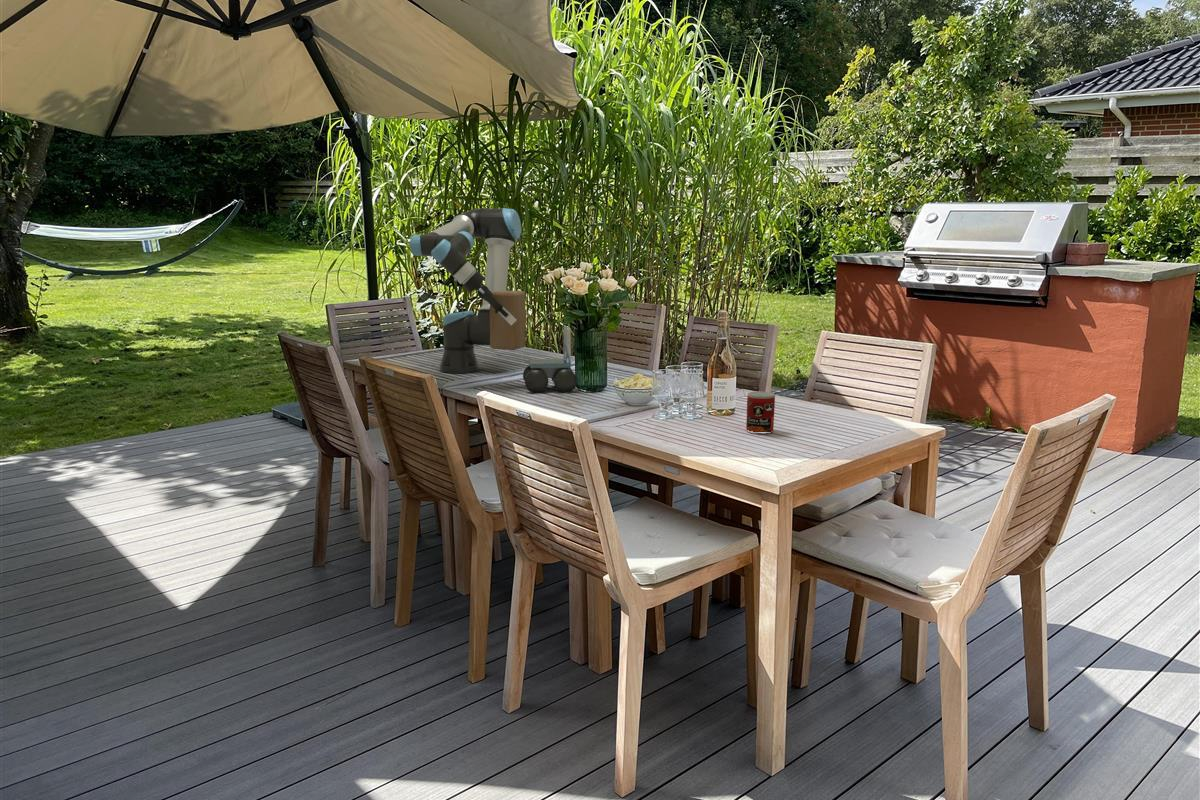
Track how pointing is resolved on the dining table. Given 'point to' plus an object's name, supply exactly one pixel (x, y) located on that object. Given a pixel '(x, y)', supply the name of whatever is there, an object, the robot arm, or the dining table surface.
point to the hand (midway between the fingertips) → (513, 320)
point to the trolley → (552, 370)
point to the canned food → (760, 411)
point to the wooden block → (500, 328)
